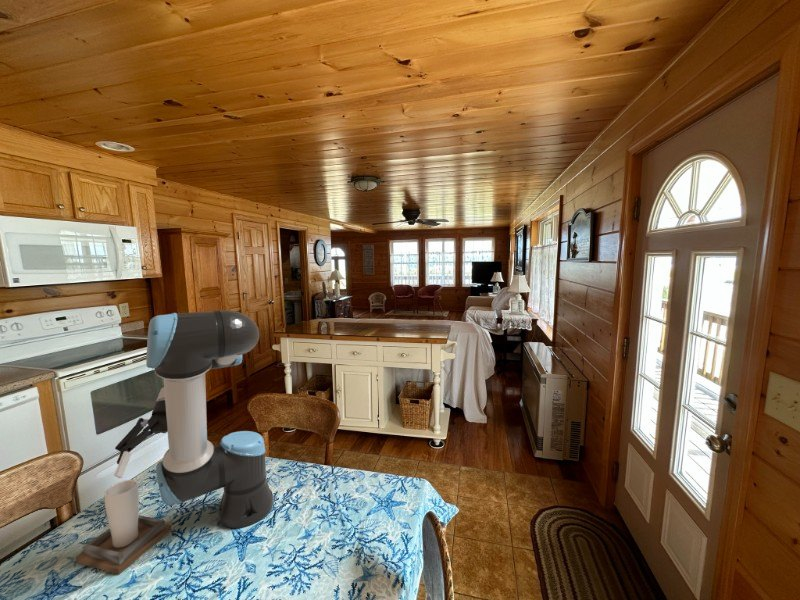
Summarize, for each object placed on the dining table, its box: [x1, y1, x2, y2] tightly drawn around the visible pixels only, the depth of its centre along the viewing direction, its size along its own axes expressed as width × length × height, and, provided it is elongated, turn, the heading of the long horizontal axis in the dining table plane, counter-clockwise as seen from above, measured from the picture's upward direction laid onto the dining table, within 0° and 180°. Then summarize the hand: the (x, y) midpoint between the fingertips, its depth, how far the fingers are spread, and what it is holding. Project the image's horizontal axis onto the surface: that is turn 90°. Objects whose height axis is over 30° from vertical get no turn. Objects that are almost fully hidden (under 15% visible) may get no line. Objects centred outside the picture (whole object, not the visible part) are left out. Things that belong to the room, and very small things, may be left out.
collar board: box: [75, 514, 173, 575], centre depth 88 cm, size 14×14×4 cm
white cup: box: [104, 479, 140, 548], centre depth 87 cm, size 7×7×15 cm
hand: (143, 475), depth 96 cm, fingers open, 13 cm apart
